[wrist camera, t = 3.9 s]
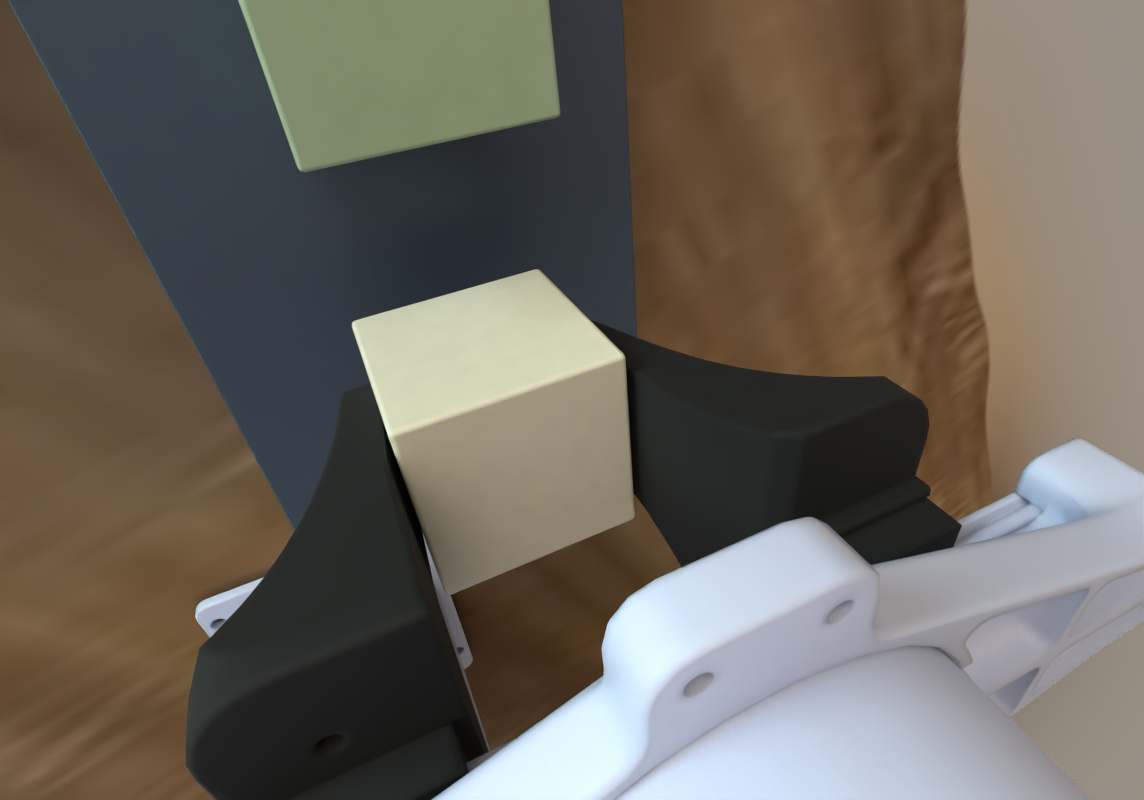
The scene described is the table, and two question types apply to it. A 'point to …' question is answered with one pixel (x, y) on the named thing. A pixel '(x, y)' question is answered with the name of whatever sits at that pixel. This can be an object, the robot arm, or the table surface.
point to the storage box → (330, 204)
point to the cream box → (502, 423)
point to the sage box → (401, 72)
